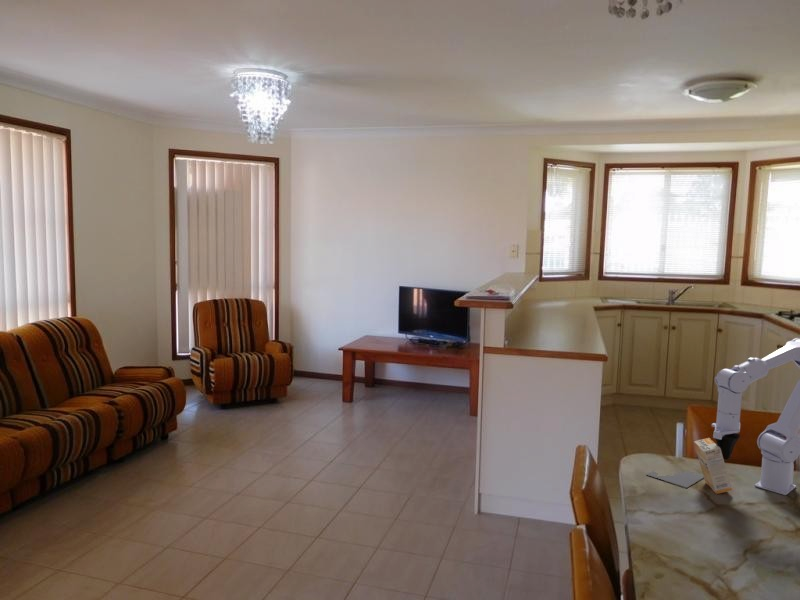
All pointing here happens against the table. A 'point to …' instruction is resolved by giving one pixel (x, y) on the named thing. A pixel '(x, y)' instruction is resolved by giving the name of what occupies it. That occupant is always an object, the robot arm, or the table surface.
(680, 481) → the rubber mat
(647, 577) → the table surface
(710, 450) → the supplement box
